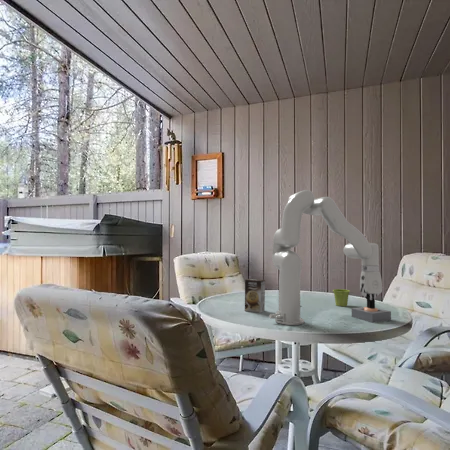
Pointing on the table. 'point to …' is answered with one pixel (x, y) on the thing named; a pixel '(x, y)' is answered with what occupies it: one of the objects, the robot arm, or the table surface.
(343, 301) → the plant pot
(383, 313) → the button box
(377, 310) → the push button
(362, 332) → the table surface
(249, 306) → the coffee box
